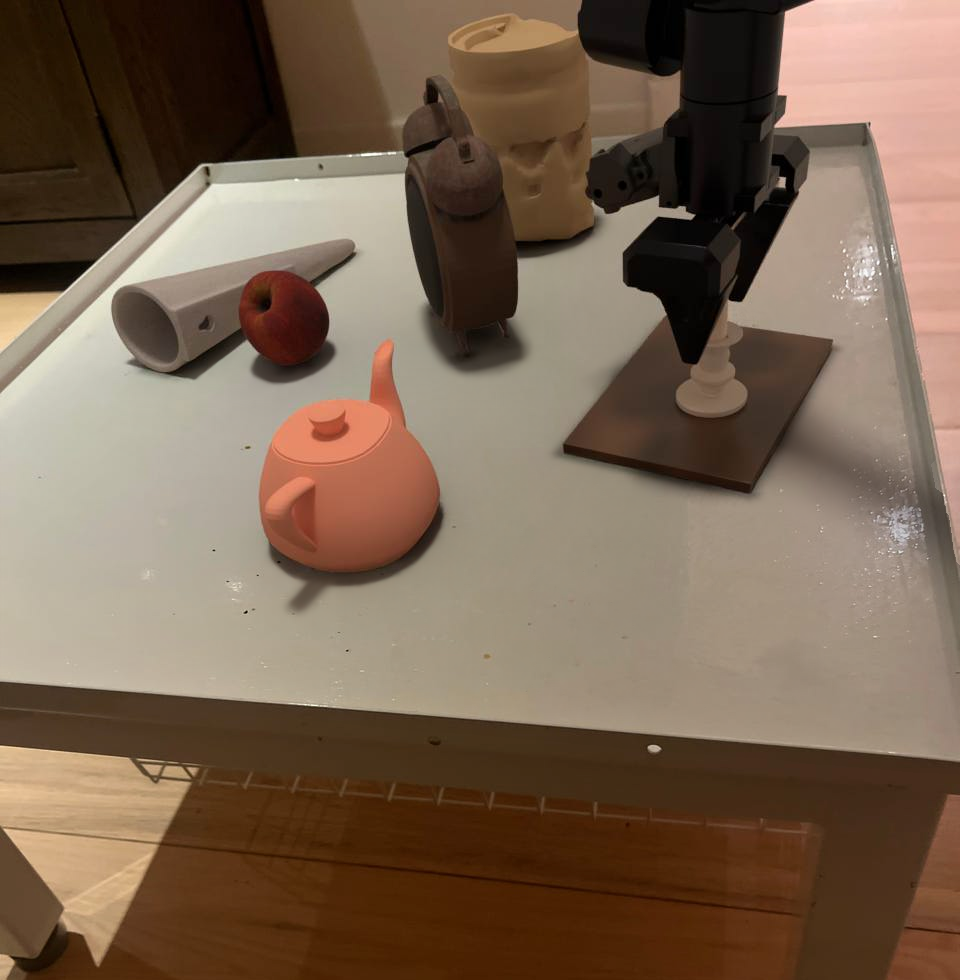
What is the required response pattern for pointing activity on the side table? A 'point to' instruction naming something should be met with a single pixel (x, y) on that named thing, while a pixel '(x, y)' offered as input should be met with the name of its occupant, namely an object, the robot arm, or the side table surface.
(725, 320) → the candle
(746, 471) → the walnut board
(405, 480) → the teapot
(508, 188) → the container
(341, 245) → the planter
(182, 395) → the side table surface
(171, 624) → the side table surface
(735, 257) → the robot arm
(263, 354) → the apple
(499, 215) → the alarm clock
